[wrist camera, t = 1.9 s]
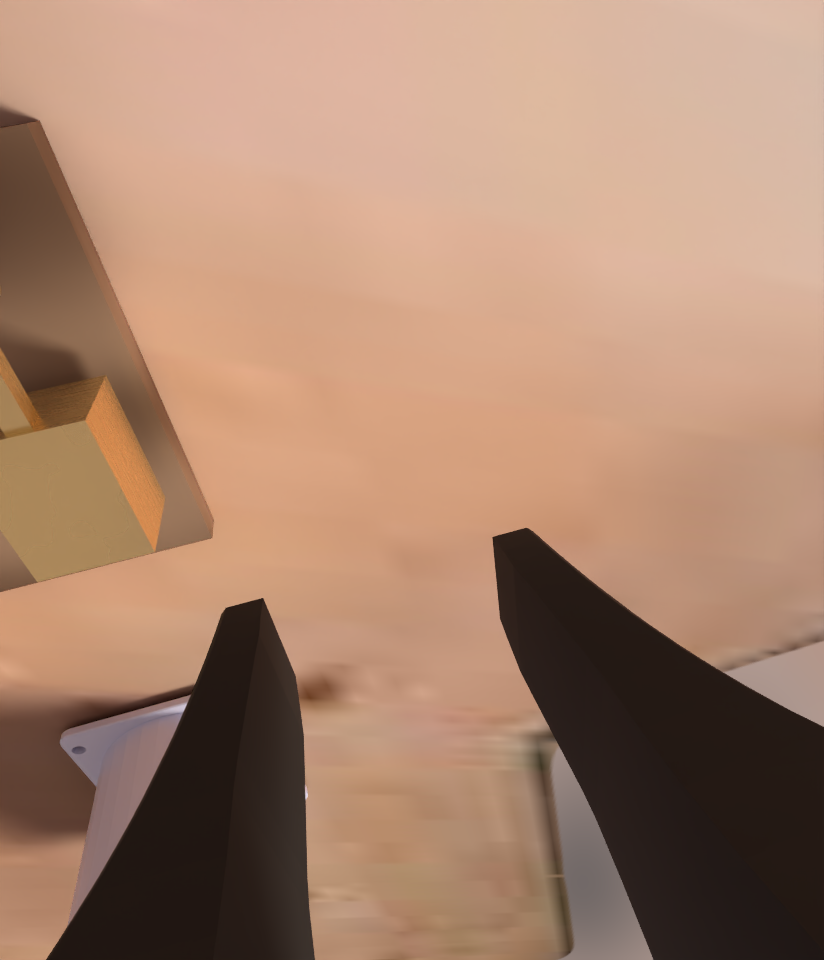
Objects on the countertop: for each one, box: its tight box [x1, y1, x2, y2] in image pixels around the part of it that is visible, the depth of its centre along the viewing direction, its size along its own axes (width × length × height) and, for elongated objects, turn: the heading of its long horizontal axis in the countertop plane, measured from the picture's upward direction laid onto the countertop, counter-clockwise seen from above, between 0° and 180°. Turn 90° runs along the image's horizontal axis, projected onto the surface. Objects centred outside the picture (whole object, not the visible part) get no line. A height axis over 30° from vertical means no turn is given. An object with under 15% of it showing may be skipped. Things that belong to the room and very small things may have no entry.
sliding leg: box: [0, 286, 165, 582], centre depth 15 cm, size 7×3×2 cm, turn 9°
